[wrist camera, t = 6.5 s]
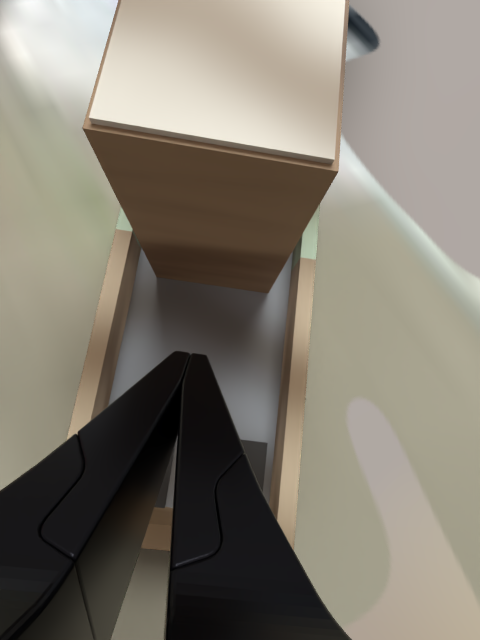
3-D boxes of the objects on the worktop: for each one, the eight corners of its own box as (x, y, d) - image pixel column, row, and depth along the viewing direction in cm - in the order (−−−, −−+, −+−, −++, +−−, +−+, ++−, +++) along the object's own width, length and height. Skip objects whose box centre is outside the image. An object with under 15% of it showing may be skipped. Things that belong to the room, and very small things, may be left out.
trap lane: (280, 534, 14) (298, 572, 11) (71, 512, 14) (32, 546, 11) (309, 193, 18) (328, 155, 15) (147, 167, 17) (134, 122, 14)
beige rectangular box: (268, 293, 16) (340, 166, 7) (156, 276, 15) (79, 122, 7) (279, 195, 17) (352, -21, 8) (175, 178, 17) (133, -66, 8)
